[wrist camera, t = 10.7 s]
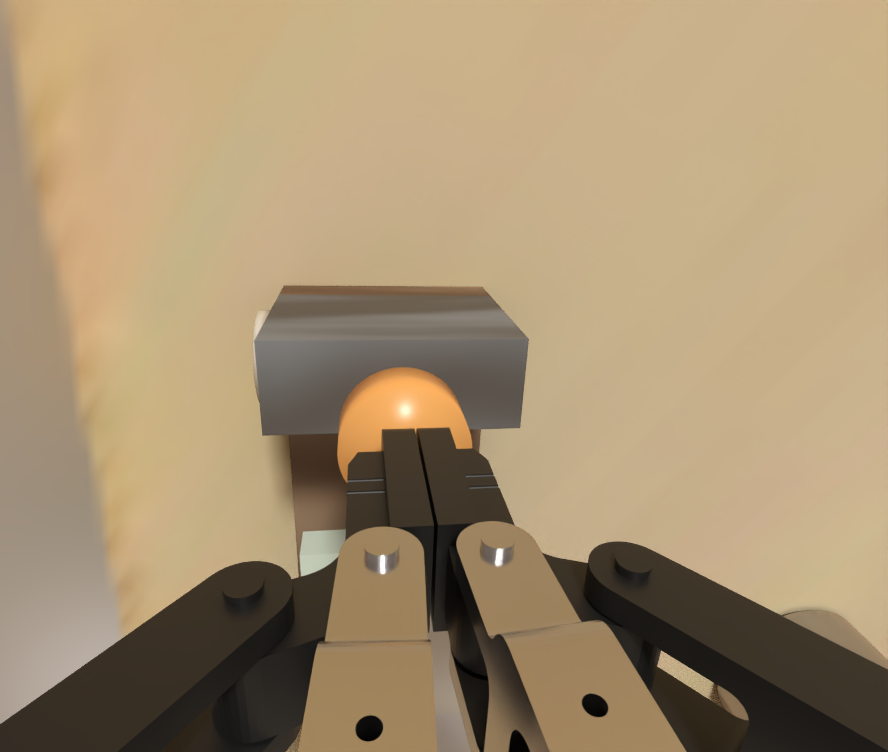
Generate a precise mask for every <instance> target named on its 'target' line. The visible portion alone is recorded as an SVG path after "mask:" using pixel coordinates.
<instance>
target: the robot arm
mask: <svg viewBox="0 0 888 752" xmlns="http://www.w3.org/2000/svg"><path fill="white" fill-rule="evenodd" d="M430 615H431V622H432V628H433V632H441V631H448V635H449V640H450V656H449V671H450V675H451V679H452V683H453V687H454V691H455V694H456V698H457V702H458V706H459V710H460V713H461V717H462V721H463V725H464V729H465V732H466V736H467V740H468V744H469V748H470V751H471V752H888V660H887V659H886V658H885V657H884V656H883V655H882V654H881V653H880V652H879V651H878V650H877V649H876V648H875V647H874V646H873V645H872V644H871V643H870V642H869V641H868V640H867V639H866V638H865V637H864V636H863V635H862V634H861V633H860V632H858V631H857V630H856V629H855V628H854V627H853V626H852V625H851V624H850V623H849V622H848V621H847V620H846V619H844V618H842V617H841V616H839V615H838V614H835V613H831V612H828V611H819V610H808V611H800V612H795V613H791V614H788V615H784V616H781V615H779V614H777V613H775V612H773V611H771V610H769V609H767V608H765V607H763V606H761V605H759V604H757V603H755V602H753V601H751V600H749V599H747V598H745V597H743V596H741V595H739V594H737V593H735V592H734V591H732V590H730V589H728V588H726V587H724V586H722V585H720V584H718V583H716V582H714V581H712V580H710V579H708V578H706V577H704V576H702V575H700V574H698V573H696V572H694V571H692V570H690V569H688V568H686V567H684V566H682V565H680V564H678V563H676V562H674V561H672V560H670V559H668V558H666V557H664V556H662V555H660V554H658V553H656V552H654V551H652V550H650V549H648V548H646V547H643V546H640V545H637V544H633V543H628V542H608V543H604V544H601V545H599V546H597V547H596V548H594V549H593V550H592V552H591V553H590V555H589V560H588V563H584V562H578V561H572V560H566V559H561V558H556V557H552V556H549V555H546V554H544V553H542V552H541V550H540V548H539V547H538V545H537V543H536V541H535V540H534V539H533V537H532V536H531V535H530V534H529V533H527V532H526V531H525V530H523V529H521V528H519V527H517V526H515V525H514V523H513V520H512V518H511V515H510V513H509V510H508V508H507V506H506V503H505V501H504V498H503V496H502V493H501V491H500V489H499V488H498V484H497V481H496V479H495V476H493V472H492V469H491V467H490V464H489V462H488V460H487V459H486V458H485V457H483V456H482V455H481V454H480V453H479V452H477V451H476V450H475V449H474V448H468V449H456V445H455V442H454V439H453V436H452V433H451V430H450V428H449V427H444V428H417V429H416V432H415V429H414V428H409V429H382V434H381V451H376V452H358V453H357V454H356V455H355V457H354V458H353V459H352V460H351V462H350V463H349V464H348V475H347V506H346V536H345V542H344V543H343V545H342V546H341V548H340V552H339V556H338V557H337V558H336V559H335V560H334V561H333V562H332V563H330V564H329V565H327V566H326V567H324V568H323V569H320V570H318V571H316V572H314V573H311V574H308V575H305V576H301V577H298V578H295V579H291V577H290V576H289V574H288V573H287V572H286V571H285V570H284V569H283V568H281V567H280V566H278V565H275V564H272V563H268V562H261V561H250V562H243V563H239V564H234V565H232V566H229V567H226V568H224V569H222V570H220V571H218V572H216V573H215V574H213V575H212V576H210V577H209V578H207V579H206V580H205V581H203V582H202V583H200V584H199V585H197V586H196V587H195V588H193V589H192V590H190V591H189V592H187V593H186V594H185V595H183V596H182V597H180V598H179V599H178V600H176V601H175V602H173V603H172V604H170V605H169V606H168V607H166V608H165V609H163V610H162V611H160V612H159V613H158V614H156V615H155V616H153V617H152V618H151V619H149V620H148V621H146V622H145V623H143V624H142V625H141V626H139V627H138V628H136V629H135V630H134V631H132V632H131V633H129V634H128V635H126V636H125V637H124V638H122V639H121V640H119V641H118V642H116V643H115V644H114V645H112V646H111V647H109V648H108V649H107V650H105V651H104V652H103V653H101V654H99V655H98V656H97V657H95V658H94V659H92V660H91V661H90V662H88V663H87V664H85V665H84V666H82V667H81V668H80V669H78V670H77V671H75V672H74V673H73V674H71V675H70V676H68V677H67V678H65V679H64V680H62V681H61V682H60V683H58V684H57V685H55V686H54V687H53V688H51V689H50V690H48V691H47V692H45V693H44V694H43V695H41V696H40V697H38V698H37V699H36V700H34V701H33V702H31V703H30V704H29V705H27V706H26V707H24V708H23V709H21V710H20V711H18V712H17V713H16V714H14V715H13V716H11V717H10V718H9V719H7V720H6V721H4V722H3V723H1V724H0V752H285V751H286V750H287V749H288V748H289V747H290V746H291V744H292V743H293V742H294V740H295V739H296V737H297V735H298V733H299V730H300V727H301V725H302V724H303V725H302V730H301V736H300V742H299V747H298V752H437V736H436V717H435V699H434V680H433V662H432V646H431V640H430V639H428V633H429V631H430ZM661 650H662V651H663V652H665V653H667V654H668V655H670V656H671V657H673V658H675V659H676V660H678V661H680V662H681V663H683V664H684V665H686V666H688V667H689V668H691V669H693V670H694V671H696V672H697V673H699V674H701V675H702V676H704V677H706V678H707V679H709V680H710V681H712V682H714V683H715V684H717V685H718V687H717V690H718V695H719V699H720V701H721V703H722V704H723V706H724V708H725V709H726V710H725V709H723V708H721V707H720V706H718V705H717V704H715V703H714V702H712V701H710V700H709V699H707V698H706V697H704V696H703V695H701V694H699V693H698V692H696V691H695V690H693V689H692V688H690V687H688V686H687V685H685V684H684V683H682V682H681V681H679V680H677V679H676V678H674V677H673V676H671V675H670V674H668V673H667V672H665V671H663V670H662V669H660V668H659V667H657V664H658V660H659V656H660V652H661Z"/></svg>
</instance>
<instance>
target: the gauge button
mask: <svg viewBox="0 0 888 752" xmlns="http://www.w3.org/2000/svg"><path fill="white" fill-rule="evenodd" d="M444 427H449V428H450V430H451V433H452V436H453V439H454V442H455V445H456V449H468V448H472V439H471V434H470V431H469V428H468V425H467V423H466V420H465V417H464V415H463V412H462V410H461V407H460V405H459V402H458V400H457V398H456V396H455V394H454V393H453V391H452V390H451V389H450V387H449V386H448V385H447V384H446V383H445V382H443V381H442V380H441V379H440V378H438V377H436V376H435V375H433V374H431V373H429V372H427V371H423V370H420V369H416V368H409V367H398V368H390V369H385V370H382V371H379V372H377V373H375V374H372V375H370V376H369V377H367V378H366V379H364V380H363V381H361V382H360V383H359V384H358V385H357V386H356V387H355V388H354V389H353V390H352V391H351V393H350V394H349V395H348V397H347V398H346V400H345V402H344V404H343V407H342V410H341V414H340V420H339V435H338V450H337V457H338V464H339V468H340V471H341V473H342V476H343V478H344V479H345V481H346V483H347V475H348V464H349V463H350V462H351V460H352V459H353V458H354V457H355V455H356V454H357V453H358V452H376V451H381V434H382V429H409V428H414V429H415V432H416V429H417V428H444Z"/></svg>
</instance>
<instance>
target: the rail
mask: <svg viewBox="0 0 888 752" xmlns="http://www.w3.org/2000/svg"><path fill="white" fill-rule="evenodd" d="M528 341H529V339H528V338H527V337H526V336H525V334H524V333H523V332H522V331H521V330H520V329H519V328H518V327H517V325H516V324H515V323H514V322H513V321H512V320H511V319H510V318H509V316H508V315H507V314H506V313H505V312H504V311H503V310H502V309H501V307H500V306H499V305H498V304H497V303H496V302H495V301H494V300H493V298H492V297H491V296H490V295H489V294H488V293H487V292H486V291H485V290H484V288H483V287H407V286H284V287H283V289H282V291H281V292H280V294H279V296H278V298H277V300H276V302H275V303H274V305H273V307H272V309H271V311H270V310H260V311H259V312H258V314H257V317H256V321H255V328H254V340H253V365H254V379H255V387H256V393H257V397H258V400H259V403H260V412H261V424H262V435H263V436H264V435H289V441H290V455H291V470H292V484H293V498H294V513H295V527H296V541H297V556H298V570H299V577H301V570H300V549H301V542H302V536H303V532H306V531H324V530H343V529H346V506H347V483H346V481H345V479H344V478H343V476H342V473H341V471H340V468H339V464H338V457H337V450H338V435H339V420H340V414H341V410H342V407H343V404H344V402H345V400H346V398H347V397H348V395H349V394H350V393H351V391H352V390H353V389H354V388H355V387H356V386H357V385H358V384H359V383H360V382H361V381H363V380H364V379H366V378H367V377H369V376H370V375H372V374H375V373H377V372H379V371H382V370H385V369H390V368H398V367H409V368H416V369H420V370H423V371H427V372H429V373H431V374H433V375H435V376H436V377H438V378H440V379H441V380H442V381H443V382H445V383H446V384H447V385H448V386H449V387H450V389H451V390H452V391H453V393H454V394H455V396H456V398H457V400H458V402H459V405H460V407H461V410H462V412H463V415H464V417H465V420H466V423H467V425H468V428H469V431H470V434H471V439H472V448H474V449H475V450H476V451H477V452H479V446H480V432H481V429H501V428H520V422H521V412H522V402H523V392H524V381H525V371H526V361H527V351H528Z"/></svg>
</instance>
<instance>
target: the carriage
mask: <svg viewBox="0 0 888 752" xmlns="http://www.w3.org/2000/svg"><path fill="white" fill-rule="evenodd" d="M345 536H346V529H343V530H324V531H306V532H303V536H302V542H301V549H300V570H301V576H305V575H308V574H311V573H314V572H316V571H318V570H320V569H323V568H324V567H326V566H327V565H329V564H330V563H332V562H333V561H334V560H335V559H336V558H337V557H338V556H339V552H340V548H341V546H342V545H343V543H344V542H345ZM428 639H430V640H431V646H432V662H433V680H434V699H435V717H436V736H437V752H471V751H470V748H469V744H468V740H467V736H466V732H465V729H464V725H463V721H462V717H461V713H460V710H459V706H458V702H457V698H456V694H455V691H454V687H453V683H452V679H451V675H450V671H449V656H450V640H449V635H448V631H441V632H433V628H432V622H431V615H430V631H429V633H428Z"/></svg>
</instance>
